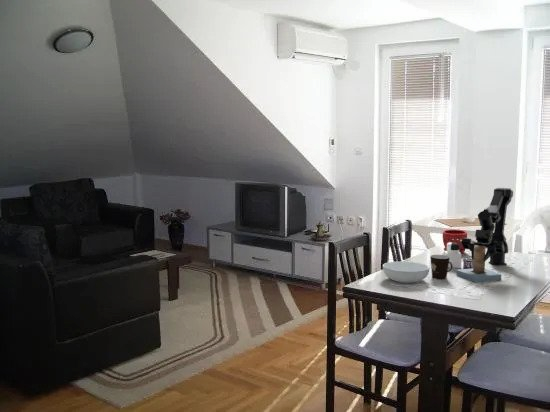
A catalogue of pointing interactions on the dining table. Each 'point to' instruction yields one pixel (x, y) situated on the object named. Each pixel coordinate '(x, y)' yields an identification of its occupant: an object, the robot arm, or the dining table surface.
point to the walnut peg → (479, 259)
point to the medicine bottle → (453, 255)
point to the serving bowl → (406, 271)
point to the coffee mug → (440, 266)
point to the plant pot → (455, 235)
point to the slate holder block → (479, 275)
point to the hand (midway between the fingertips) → (478, 260)
